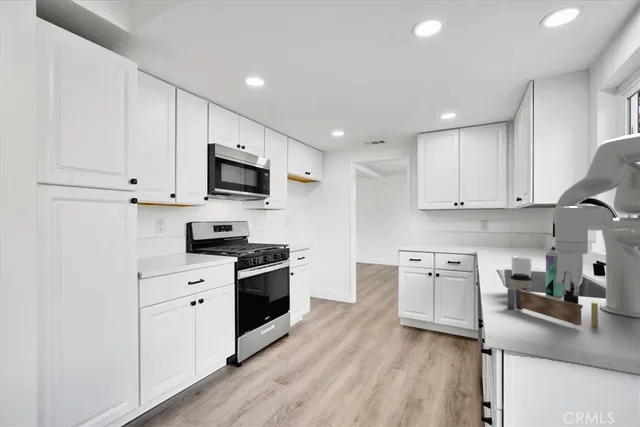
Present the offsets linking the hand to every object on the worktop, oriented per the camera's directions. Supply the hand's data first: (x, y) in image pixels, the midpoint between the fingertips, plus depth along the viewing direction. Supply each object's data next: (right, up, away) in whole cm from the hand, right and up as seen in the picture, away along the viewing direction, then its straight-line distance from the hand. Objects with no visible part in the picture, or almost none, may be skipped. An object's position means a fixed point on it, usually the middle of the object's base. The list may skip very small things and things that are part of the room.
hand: (570, 308), depth 90 cm
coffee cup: (0, -5, +23) cm, 23 cm away
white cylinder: (+7, -5, +33) cm, 34 cm away
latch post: (+5, -5, -2) cm, 7 cm away
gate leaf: (-5, -4, +4) cm, 7 cm away
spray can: (+18, -5, +29) cm, 34 cm away
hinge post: (-9, -5, +14) cm, 17 cm away
